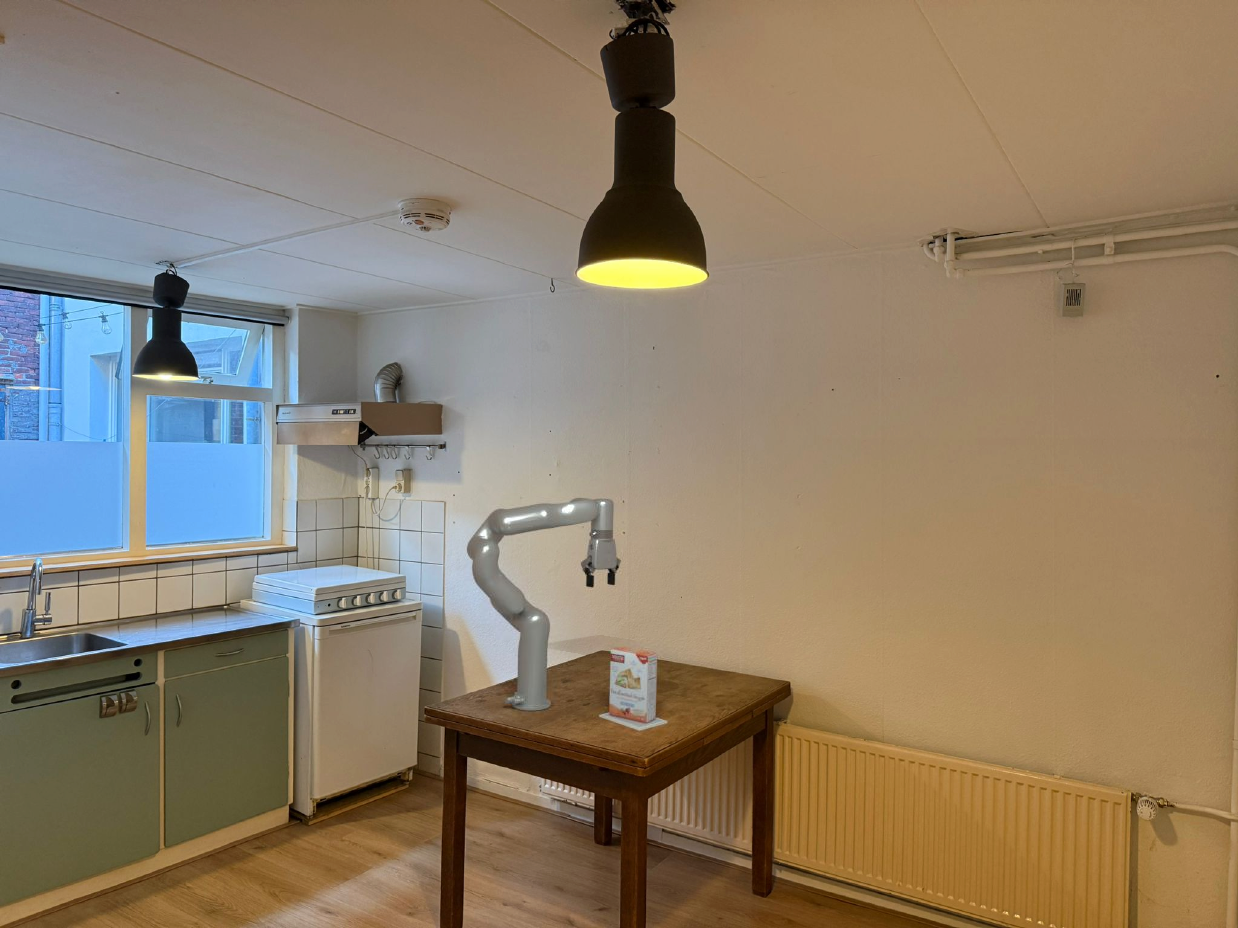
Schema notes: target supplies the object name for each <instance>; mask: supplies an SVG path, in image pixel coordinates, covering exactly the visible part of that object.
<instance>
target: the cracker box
mask: <svg viewBox="0 0 1238 928" xmlns="http://www.w3.org/2000/svg"><path fill="white" fill-rule="evenodd" d="M609 671H610V673H609V701H608V702H609V708H608V709H609V710H608V713H609V715H613V716H617V717H622V718H626V719H630V720H634V721H638V722H643V723H648V722H650V721H652V720H654V719H656V718H657V716H656V715H657V681H658V680H657V678H658V677H657V676H658V674H657V672H658V652H655V651H648V650H643V649H638V648H633V647H627V646H618V647H614V648H611V649H610V670H609Z"/></svg>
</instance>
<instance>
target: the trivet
mask: <svg viewBox="0 0 1238 928" xmlns="http://www.w3.org/2000/svg"><path fill="white" fill-rule="evenodd" d="M599 718H601V719H605V720H607V721H611V722H613V723H617V724H619V725H622V726H625V727H627V728H631V729H634V730H636V731H639V732H640V731H644V730H647V729H648V730H649V729H651V728H655V727H658V726H661V725H666V724H667V723H668V720H666V719H662V718H659V717H656V719H654V720H652V721H650V722H648V723H643V722H638V721H634V720H630V719H626V718H622V717H617V716H613V715H609V712H606V713H602V714H599Z"/></svg>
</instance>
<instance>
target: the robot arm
mask: <svg viewBox="0 0 1238 928" xmlns="http://www.w3.org/2000/svg"><path fill="white" fill-rule="evenodd" d="M614 504H615V503H614V500H612V499H610V498H593V499H591V498H588V497H587V498H586V497H575V498H572V499H571V500H570V501H569V502H563V503H562V502H560V503H549V502H547V503H545V502H544V503H535V504H530V505H525V506H524V505H523V506H520V507H513V508H507V509H506V508H498V509H495V510H493V511H492V512H491V513H489V515H488V516H487V517H486V519H485V520H484V521H483V523H482V524H481V525H480V526H479V528H477V530H476V531H475V533H474V534H473V535H472V537H471V538H470V539H469V541H468V543H467V546H466V553H467V555H468V557H469V558H470V559H471V560H472V564H471V570H472V571H471V572H472V577H473V580H474V582H475V584H476V585H477V586H478V588H479V589H481V591H482V592H483V593H484V594H485V596H487V598H489V601H490V604H491V605H492V607H493V608H494V610H495V611H496V612H497V613H499V615H500V616H502V618H504V620H506V621H507V623H508V624H510V626H511V627H513V628H514V629H515V630H516V631H518V632H519V633H520V634H519V635H520V636H519V641H518V648H517V680H516V681H517V685H516V687H517V688H516V689H517V691H514V695H512V696H508V697H505V698H504V703H505V704H507V705H508V704H511V706H512V707H513V708H514V709H516V710H521V711H528V712H529V711H541V710H546V709H549V708H550V707H551V705H552V703H551V700H549V699H548V698H547V687H548V686H547V685H548V683H547V681H548V679H547V678H548V645H549V638H550V631H551V622H550V619H549V616H548V615H547V614H546V612H544V611H543V610H542V609H539V608H538V607H535V606H534V605H533V604H531V603H530V602H529V601H528V600H527V599H526V596H525V594H524V593H523V591H522V590H521V589H520V588H519V587H518V586H516V585H515V584H514V582H512V581H511V580H510V579H509V578H508V577H507V575H505V574H504V573H503V571H502V570H501V569H500V567H499V557H500V553H501V552H500V551H501V550H500V547H499V543H500V542H501V541H502V539H503V538H504V536H505V537H506V536H507V537H509V536H514V535H520V534H524V533H529V532H530V533H531V532H535V531H541V530H548V529H550V530H551V529H555V528H560V527H561V528H562V527H568V526H573V525H578V524H583V523H590V532H589V533H588V535H589V537H590V539H589V541H588V545H587V552H586V553H587V554H586V555H587V556H586V558H584V560H582V561H581V562H580V565H581V569H582V571H583V573H584V575H585V576H586V577H585V578H586V579H585V581H586V582H585V586H586V587H587V588H594V587H595V575H594V572H595V571H596V570H598V571H599V570H607V571H608V572H607V575H606V576H607V580H606V582H607V585H608V586H609V585H610V586H615V585H616V574H617V572H618V570H619V568H620V564H621V562H622V560H621V558H618V557H617V545H616V539H614V512H615V511H614V507H615V506H614Z"/></svg>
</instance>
